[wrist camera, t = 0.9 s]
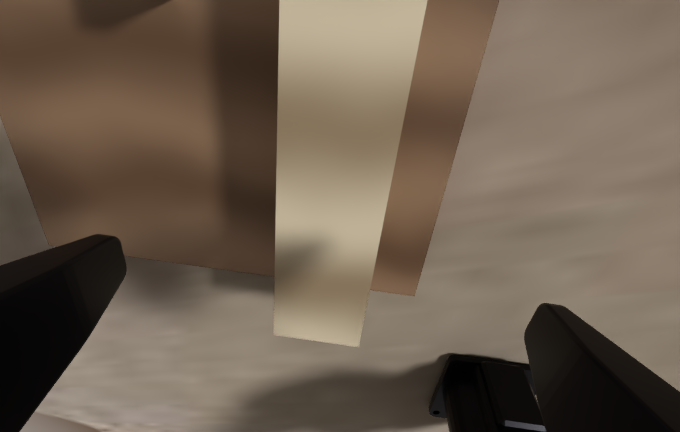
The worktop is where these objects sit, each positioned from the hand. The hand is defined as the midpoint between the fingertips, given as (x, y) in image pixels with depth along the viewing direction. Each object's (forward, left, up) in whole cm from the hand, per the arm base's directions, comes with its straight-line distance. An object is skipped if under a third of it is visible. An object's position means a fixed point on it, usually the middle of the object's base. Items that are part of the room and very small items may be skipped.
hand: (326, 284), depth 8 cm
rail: (+2, 0, -9) cm, 10 cm away
